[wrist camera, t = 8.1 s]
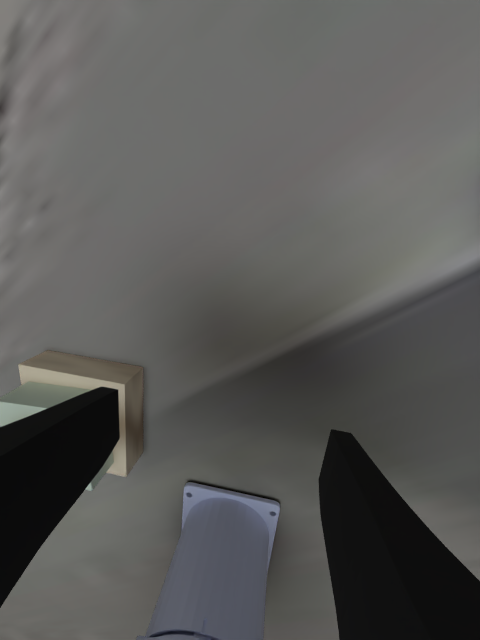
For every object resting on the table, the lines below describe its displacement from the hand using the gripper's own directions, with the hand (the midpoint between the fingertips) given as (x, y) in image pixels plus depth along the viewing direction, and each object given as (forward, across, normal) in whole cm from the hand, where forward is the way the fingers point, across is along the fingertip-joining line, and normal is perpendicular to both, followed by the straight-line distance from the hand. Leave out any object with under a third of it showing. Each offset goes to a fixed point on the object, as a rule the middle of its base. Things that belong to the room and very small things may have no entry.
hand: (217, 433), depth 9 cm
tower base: (+11, +12, +8) cm, 18 cm away
